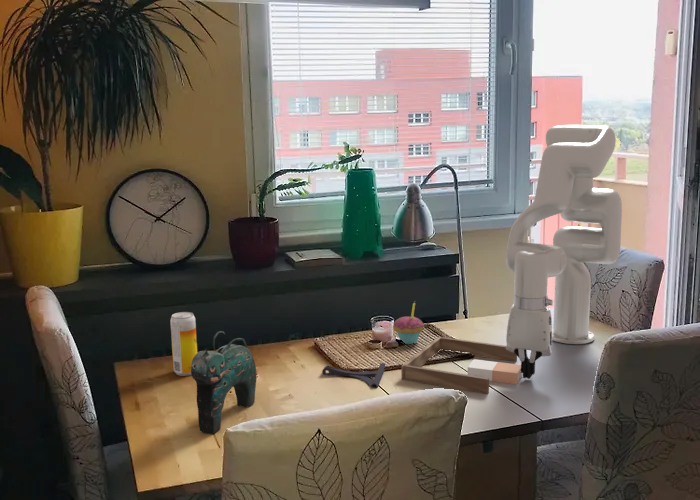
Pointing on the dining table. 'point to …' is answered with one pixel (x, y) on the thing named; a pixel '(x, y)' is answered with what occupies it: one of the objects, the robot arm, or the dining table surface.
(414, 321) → the cupcake
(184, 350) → the beer can
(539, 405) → the dining table surface
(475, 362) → the white square tile
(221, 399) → the ceramic cat
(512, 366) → the terracotta tile
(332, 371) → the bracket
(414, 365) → the frame
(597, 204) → the robot arm
